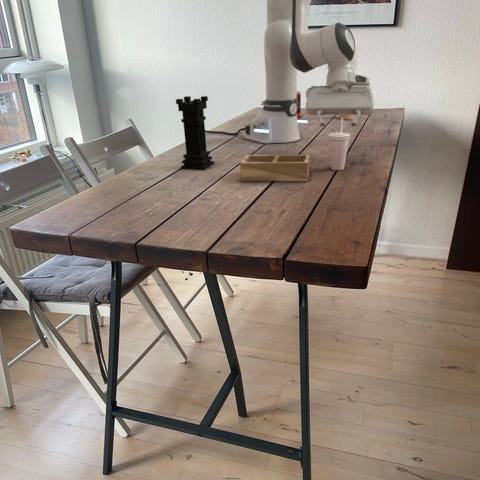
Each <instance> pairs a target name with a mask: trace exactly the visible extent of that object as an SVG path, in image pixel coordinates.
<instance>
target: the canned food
mask: <svg viewBox="0 0 480 480" xmlns="http://www.w3.org/2000/svg"><path fill="white" fill-rule="evenodd" d="M301 97H302V93H301V91H300V90H297V99H298V109H297V119H300V118H301V101H302V100H301V99H302V98H301Z"/></svg>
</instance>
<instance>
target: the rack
mask: <svg viewBox="0 0 480 480" xmlns="http://www.w3.org/2000/svg"><path fill="white" fill-rule="evenodd" d="M310 164H311V155H310V154H246V155H244V157H243V159H242V160H241V161H240V163H239V167H240V182H308V180H309V176H310V166H311V165H310Z"/></svg>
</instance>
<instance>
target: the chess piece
mask: <svg viewBox="0 0 480 480" xmlns="http://www.w3.org/2000/svg"><path fill="white" fill-rule="evenodd" d="M208 101H209V97H208V95H203V96H200V98H194V99H192V96H191V95H188V96H187V95H186V96H183V98H177V99H175V105H177V108H178V112H182V118H181V123H183V130H184V131H183V134H184V142H185V153H184V154H183V155H182V157H183V160H181V164H182V165H181V166H180V169H181V170H195V171H197V170H198V171H199V170H200V171H205V170H207V169H208V168H209V167H211V166H213V165H215V160H213V156H212V155H211V151H210V150H207V139H206V138H207V137H206V132H205V130H206V125H205V124H206V123H205V121H206V120H207V116H205V112H204V110H206V109H207V108H208V107H207V102H208Z"/></svg>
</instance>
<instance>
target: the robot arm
mask: <svg viewBox="0 0 480 480" xmlns="http://www.w3.org/2000/svg"><path fill="white" fill-rule="evenodd" d="M312 1H313V0H266V28H265V31H264V34H263V54H264V69H265V71H264V72H265V100H262V101H261V103H260V105H261V106H262V110H261V111H260V112H259V113H258V115H257V116H255V117H254V118H253V119H252V120H251V122H250V124H247V125H245V126H244V127H242V128H239V129H238V130H237V131H236V132H227V131H218V130H216V131H215V130H207V129H205V134H222V135H227V136H237V135H239V133H240V132H242V131H245V134H244V135H243V138H244V139H246V140H249V141H253V142H257V143H260V144H282V143H283V144H285V143H293V142H296V141H299V140H301V135H300V131H299V130H300V129H299V123H304V124H308V120H303V119H302V120H301V119H298V118H297V109H298V99H297V91H298V90H297V89H298V87H297V86H298V85H297V84H298V83H297V82H298V77H297V76H298V72H301V73H304V74H305V73H308V72H311V71H312V70H315V69H316V68H319V67H322V66H325V65H327V70H328V71H327V74H326V81H325V85H312V86H311V87H308V88H307V89H306V90H305V97H306V100H305V101H306V102H305V114H306V115H308V116H316V119H317V120H318V122H319V127H325V126H326V125H325V124H326V118H325V117H322V116H338V115H355V118H352V119H351V127H357V125H358V123H357V122H358V121H359V120H360V119H361V116H365V115H366V116H367V115H368V116H369V115H371V114H372V113H373V112H374V104H375V103H374V102H375V101H374V92H373V89H372V87H371V78H370V77H369V76H364V75H361V74H358V73H356V69H357V59H358V58H357V46H356V41H355V37H354V34H353V33H352V31H351V29H350V28H349V27H347V26H346V25H345V24H343V23H341V22H335V23H331V24H329V25H326V26H323V27H322V28H319V29H317V30H314V31H311V32H309V8H310V5H311V3H312Z"/></svg>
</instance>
